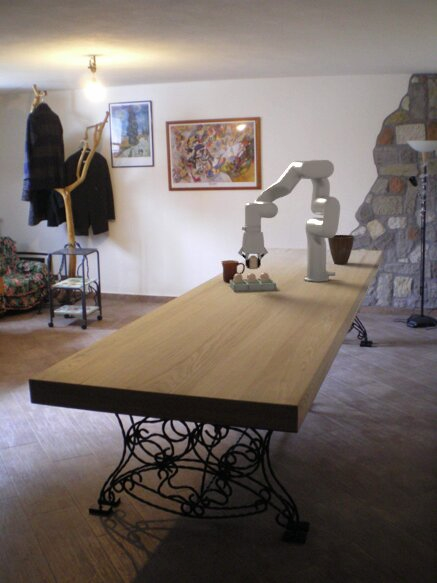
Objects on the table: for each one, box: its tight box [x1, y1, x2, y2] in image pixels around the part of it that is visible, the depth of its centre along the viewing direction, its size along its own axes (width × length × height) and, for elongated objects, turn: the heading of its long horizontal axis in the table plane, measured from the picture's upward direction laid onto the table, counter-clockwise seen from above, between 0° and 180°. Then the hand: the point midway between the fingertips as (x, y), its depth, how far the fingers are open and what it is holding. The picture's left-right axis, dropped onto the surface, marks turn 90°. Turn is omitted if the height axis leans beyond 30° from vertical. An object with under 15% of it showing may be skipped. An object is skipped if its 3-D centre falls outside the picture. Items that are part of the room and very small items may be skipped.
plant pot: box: [327, 234, 355, 265], centre depth 381 cm, size 15×15×16 cm
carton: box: [229, 272, 277, 293], centre depth 318 cm, size 20×14×7 cm
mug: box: [221, 259, 246, 283], centre depth 336 cm, size 12×9×10 cm
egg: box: [247, 255, 259, 270], centre depth 313 cm, size 4×4×6 cm
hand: (253, 267), depth 314 cm, fingers closed on egg, 4 cm apart
